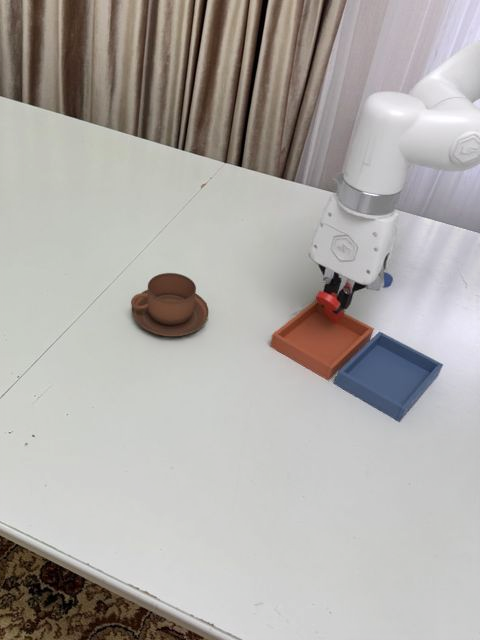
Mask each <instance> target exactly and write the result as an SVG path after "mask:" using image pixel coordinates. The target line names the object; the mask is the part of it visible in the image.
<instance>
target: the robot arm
mask: <svg viewBox="0 0 480 640" xmlns="http://www.w3.org/2000/svg"><path fill="white" fill-rule="evenodd" d="M479 99H480V39H478V40H476V41H473V42H472V43H470V44H467V45H466V46H465V47H462V48H461V49H459V50H458V51H456V52H455V53H453V54H452V55H450V56H449V57H448V58H446V59H445V60H444V61H443V62H441V63H440V64H439V65H437V66H435V68H433V69H432V70H430V72H428V73H427V74H426V75H424V76H423V77H422V78H421V79H420V80H419V81H418V82H417V83H416V84H414V86H413V87H412V88H411V89H410V90H409V91H408V93H404V92H398V91H391V90H389V91H388V90H387V91H385V90H384V91H377V92H374V93H372V94H370V95H369V96H368V97H367V98H366V99H365V100H364V102H363V104H362V106H361V109H360V113H359V117H358V119H357V124H356V128H355V131H354V135H353V139H352V143H351V146H350V149H349V153H348V157H347V159H346V165H345V167H344V171H343V172H337V171H336V172H334V175H333V176H332V179H331V181H332V183H335V184H336V185H337V186H338V187H337V191H336V192H334V193H332V195H331V196H330V197H329V199H328V201H327V203H326V205H325V207H324V209H323V212H322V214H321V217H320V218H319V221H318V224H317V226H316V230H315V233H314V235H313V238H312V242H311V244H310V249H309V253H308V257H309V258H310V259H311V260H312V261H313V262H314V263H315V264H316V265H318V267H319V270H320V272H321V274H322V276H323V277H322V281H323V283H324V287H323V290H322V291H323V292H326V293H328V294H330V295H331V294H332V292H334V293H336V294H338V296H337V300H338V301H339V302H340V306H339V308H338V309H337V310H336V311H334V310H333V312H334V313H335V314H338V313H339V312H340V311H342V310H343V309H344V310H345V311H346V310H347V309H348V308H349V307H350V305H351V303H352V300H353V298H354V294H355V292H358V291H361V290H364V289H366V290H369V291H370V290H371V291H376V292H377V291H378V292H379V291H380V290H381V289H383V286H384V272H386V270H387V267H388V265H389V262H390V259H391V256H392V252H393V249H394V245H395V241H396V235H397V230H398V224H399V213H400V211H399V210H398V209H397V205H398V202H399V199H400V196H401V193H402V191H403V188H404V184H405V182H406V179H407V176H408V173H409V170H410V168H411V166H412V165H415V166H420V167H426V168H430V169H433V170H437V171H443V172H453V173H454V172H463V171H464V172H465V171H469V170H470V169H473V168H475V167H477V166H478V165H480V108H479V107H478V106H477V105H475V104H474V103H475V102H476V101H477V100H479ZM368 271H369V272H368ZM340 276H342V277H344V278H346V281H345V284H344V285H343V287H342V288H341V284H342V282H343V281H342V277H340ZM340 288H341V289H340ZM322 307H323V308H324V306H323V305H322Z"/></svg>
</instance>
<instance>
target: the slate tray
mask: <svg viewBox="0 0 480 640" xmlns="http://www.w3.org/2000/svg"><path fill="white" fill-rule="evenodd" d="M443 366H444V363H441V362H439V361H437V360H435V359H434V358H432V357H430V356H428V355H426V354H424V353H422V352H420V351H419V350H416V349H414V348H412V347H411V346H409V345H407V344H404V343H403V342H401V341H399V340H397V339H395V338H393V337H392V336H389V335H388V334H385V333H383V332H381V331H378V332H377V333H376V334H375V335H374V336H373V337H371V338H370V341H369V342H368V343H367V344H366V345H365V346H364V347H363V348H362V349H361V350H359V351H358V352H357V353H356V354H355V355H354V356H353V357H352V358H351V359H350V360H349V361H348V362H347V363H346V364H345V365H344V366H343V367H342V368H341V369H340V370H339V371H338V372H337V373H336V376H335V379H334V382H333V384H334V385H336V386H337V387H339V388H340V389H342V390H344V391H345V392H347V393H349V394H350V395H352V396H353V397H356V398H358V399H359V400H361V401H363V402H364V403H366V404H368V405H370V406H372V407H374V408H375V409H376V410H378V411H380V412H382V413H383V414H385V415H387V416H389V417H390V418H392V419H394V420H396V421H397V422H401V421H402V420H403V419H404V418H405V416H406V415H407V414H408V413H409V411H410V410H411V409H412V408H413V407H414V406H415V404H416V403H417V402H418V401H419V400H420V398H421V397H422V396H423V395H424V393H425V392H427V390H428V389H429V388H430V386H431V385H432V384H433V383H434V382H435V380H436V379H438V376H439V374H440V373H441V371H442V368H443Z"/></svg>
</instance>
